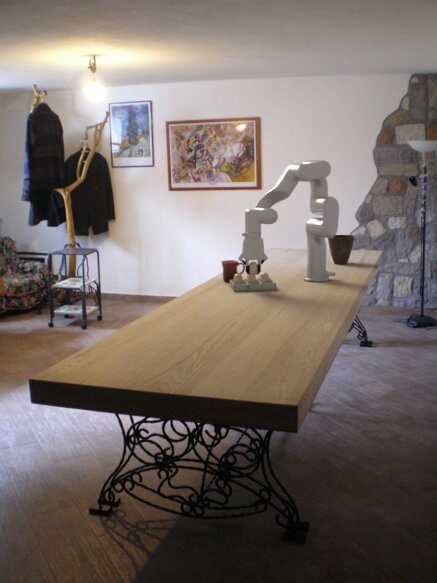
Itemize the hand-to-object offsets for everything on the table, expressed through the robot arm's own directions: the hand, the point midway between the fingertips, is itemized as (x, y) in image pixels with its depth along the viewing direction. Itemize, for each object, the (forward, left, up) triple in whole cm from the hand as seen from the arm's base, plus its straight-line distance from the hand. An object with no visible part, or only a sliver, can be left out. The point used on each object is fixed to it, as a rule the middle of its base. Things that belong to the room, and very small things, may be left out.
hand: (253, 273), depth 314 cm
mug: (+6, -22, -8) cm, 25 cm away
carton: (0, -3, -8) cm, 9 cm away
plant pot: (-63, -61, -8) cm, 88 cm away
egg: (0, 0, -1) cm, 1 cm away
